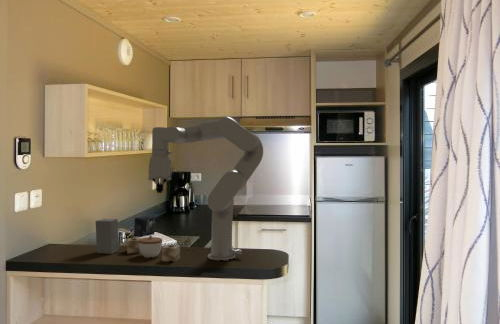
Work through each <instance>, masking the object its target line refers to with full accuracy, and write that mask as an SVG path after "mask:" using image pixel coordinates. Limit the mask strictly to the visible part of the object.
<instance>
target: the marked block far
mask: <svg viewBox="0 0 500 324" xmlns="http://www.w3.org/2000/svg"><path fill="white" fill-rule="evenodd" d="M141 238H142V237H135V238H134V237H133V238H132V237H131V238H129V237H128V238H127V243H126V244H127V247H126V249H127V250H126V253H127V254H141V253H140V250H139V242H138V240H139V239H141Z"/></svg>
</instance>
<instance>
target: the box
mask: <svg viewBox="0 0 500 324" xmlns="http://www.w3.org/2000/svg"><path fill="white" fill-rule="evenodd" d="M133 227H134V229H133V235H134V236H137V237H140V238H143V237H147V236H152V235H155V227H156V217H155V216H151V215H145V216H138V217H134V226H133Z"/></svg>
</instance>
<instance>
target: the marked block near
mask: <svg viewBox="0 0 500 324" xmlns="http://www.w3.org/2000/svg"><path fill="white" fill-rule="evenodd" d="M161 252H162V253H161V262H169V261H173V262H172V263H176V262H177V261H178V259H179V260H180V259H181V245H175V244H167V245H164V246H162V248H161ZM175 261H176V262H175Z"/></svg>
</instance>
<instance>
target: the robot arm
mask: <svg viewBox="0 0 500 324" xmlns="http://www.w3.org/2000/svg"><path fill="white" fill-rule="evenodd" d="M151 134H152V135H151V136H152V137H151V139H152V140H151V141H152V142H151V156H150V158H149V163H148V164H149V165H148V178H147V179H148V180H149V181H153V183H154V184H155V191H156V192H157V194H162V193H163V191H164V184H165V183H166V182H167V181H171V180H172V173H173V172H172V171H173V170H172V161H171V156H169V155H172V151H170V150H169V143H174V144H188V143H189V144H190V143H195V142H204V141H211V140H215V139H226V140H227V141H229V142H230V143H232V144H233V145H234V146H235V147H237V148H238V149H240V150H241V151H244V153H243V155H242V157H240V159H239V160H238V162H237V163H236V164H235V166H234V167H233V168H232V170H229V171H226V172H225V173H224V174H223V175H222V176H221V178H220V179H219V180H218V181H217V183H216V184H215V186H214V187H213V189H212V190H211V191H210V193H209V194H208V197H207V199H206V200H207V201H206V203H207V206H208V208H209V209H210V210H211V211H212V212H211V243H210V244H211V245H210V246H211V247H210V248H211V250H210V253H208V255H207V258H208V259H209V260H212V261H220V260H223V261H230V260H229V259H231V260H233V258H234V259H235V258H236V255H242V249H234V246H233V220H234V218H233V215H234V203H235V199H234V198H235V196H236V195H237V194H238V193H239V191H241V190H242V189H243V188H244V187H245V186H246V184H247V183H248V182H249V179H250V178H251V177H252V175H253V174H254V172H255V171H256V169H257V168H258V167H259V165H260V163H261V162H262V159H263V157H264V145H263V143H262V140H261V139H260V137H259V136H258V135H256V134H255V133H253V132H251V131H249V130H248V129H246V128H245V127H243V126H242V125H241V124H239V122H238V121H236V119H235V118H232V117H229V116H224V117H221V118H220V119H217V120H215V119H214V120H209V121H208V120H207V121H202V122H201V123H199V124H197V125H193V126H186V127H179V126H178V127H177V126H168V127H163V126H155V127H153V128H152V133H151Z"/></svg>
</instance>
